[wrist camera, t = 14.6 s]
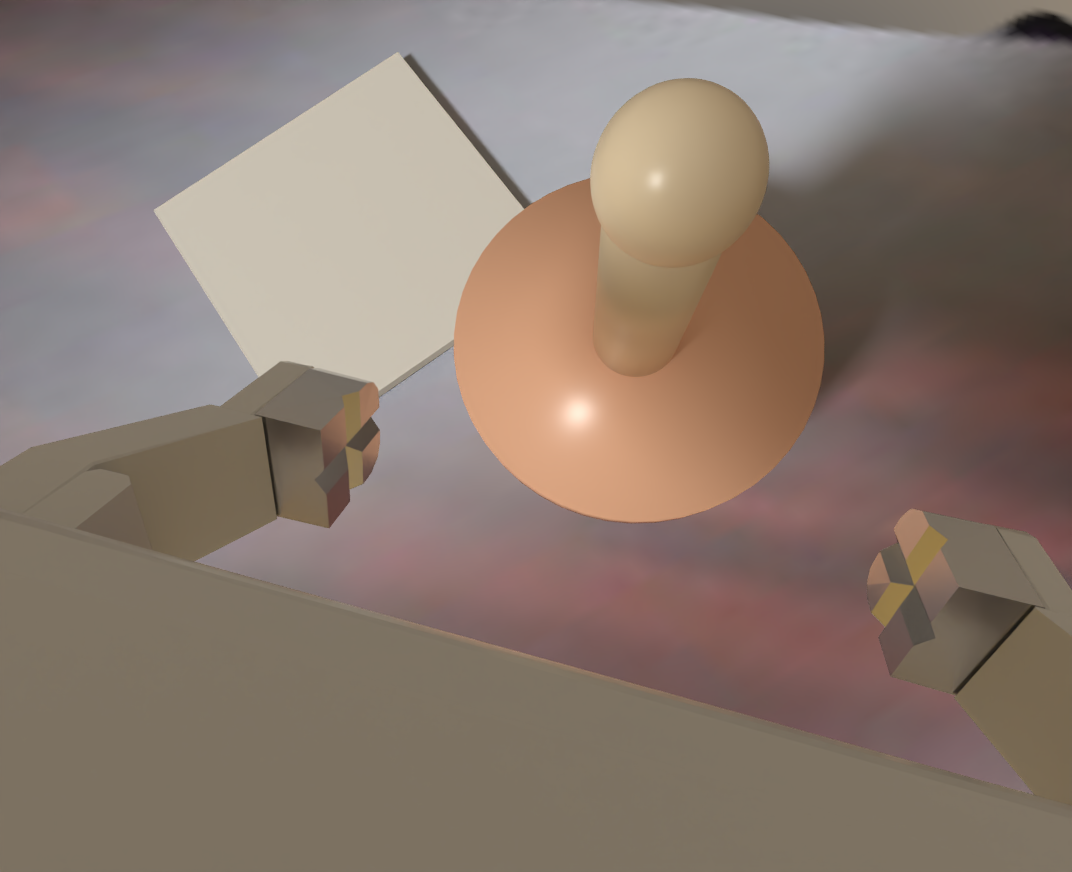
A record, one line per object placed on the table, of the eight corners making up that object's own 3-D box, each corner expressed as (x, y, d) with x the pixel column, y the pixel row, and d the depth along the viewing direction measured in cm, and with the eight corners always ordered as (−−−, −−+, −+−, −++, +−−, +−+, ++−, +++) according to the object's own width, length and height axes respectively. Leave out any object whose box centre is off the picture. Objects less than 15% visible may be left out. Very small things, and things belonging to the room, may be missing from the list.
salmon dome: (395, 315, 24) (215, 68, 12) (663, 132, 25) (745, -268, 13) (595, 598, 21) (621, 646, 9) (888, 383, 22) (1254, 172, 10)
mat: (161, 216, 32) (153, 210, 31) (401, 61, 33) (397, 51, 32) (306, 447, 29) (301, 444, 28) (566, 267, 30) (566, 261, 29)
